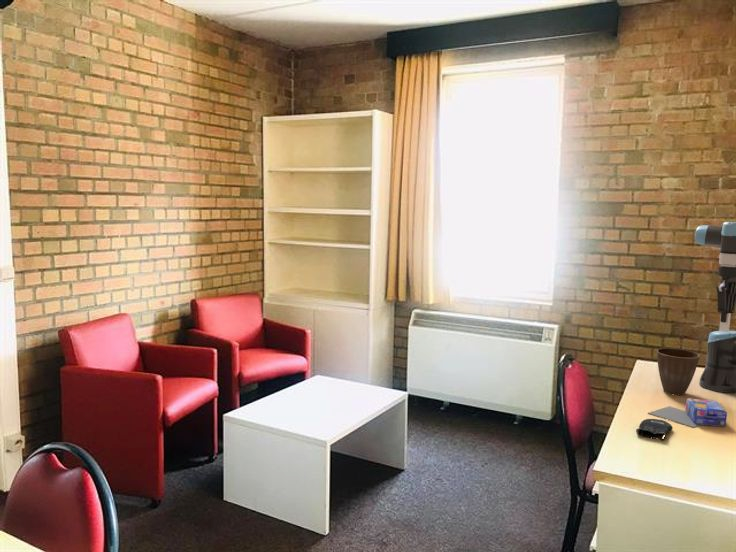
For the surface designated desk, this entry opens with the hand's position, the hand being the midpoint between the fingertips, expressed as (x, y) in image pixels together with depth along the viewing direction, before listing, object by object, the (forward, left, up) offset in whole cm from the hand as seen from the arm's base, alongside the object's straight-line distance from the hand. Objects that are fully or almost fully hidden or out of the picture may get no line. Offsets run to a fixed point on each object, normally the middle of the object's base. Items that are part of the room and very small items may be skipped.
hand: (724, 330), depth 229 cm
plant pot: (-4, -18, -29) cm, 34 cm away
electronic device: (+44, +2, -29) cm, 53 cm away
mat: (+22, -2, -28) cm, 36 cm away
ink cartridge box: (+14, +1, -25) cm, 29 cm away
